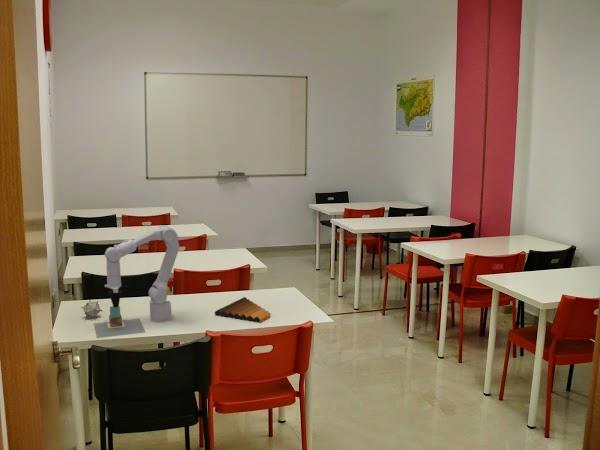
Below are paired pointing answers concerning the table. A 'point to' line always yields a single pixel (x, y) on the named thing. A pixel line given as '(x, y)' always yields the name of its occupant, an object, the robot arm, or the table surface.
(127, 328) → the board
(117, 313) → the teal block
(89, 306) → the grey spiky ball
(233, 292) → the table surface
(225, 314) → the pan flute
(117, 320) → the walnut block
